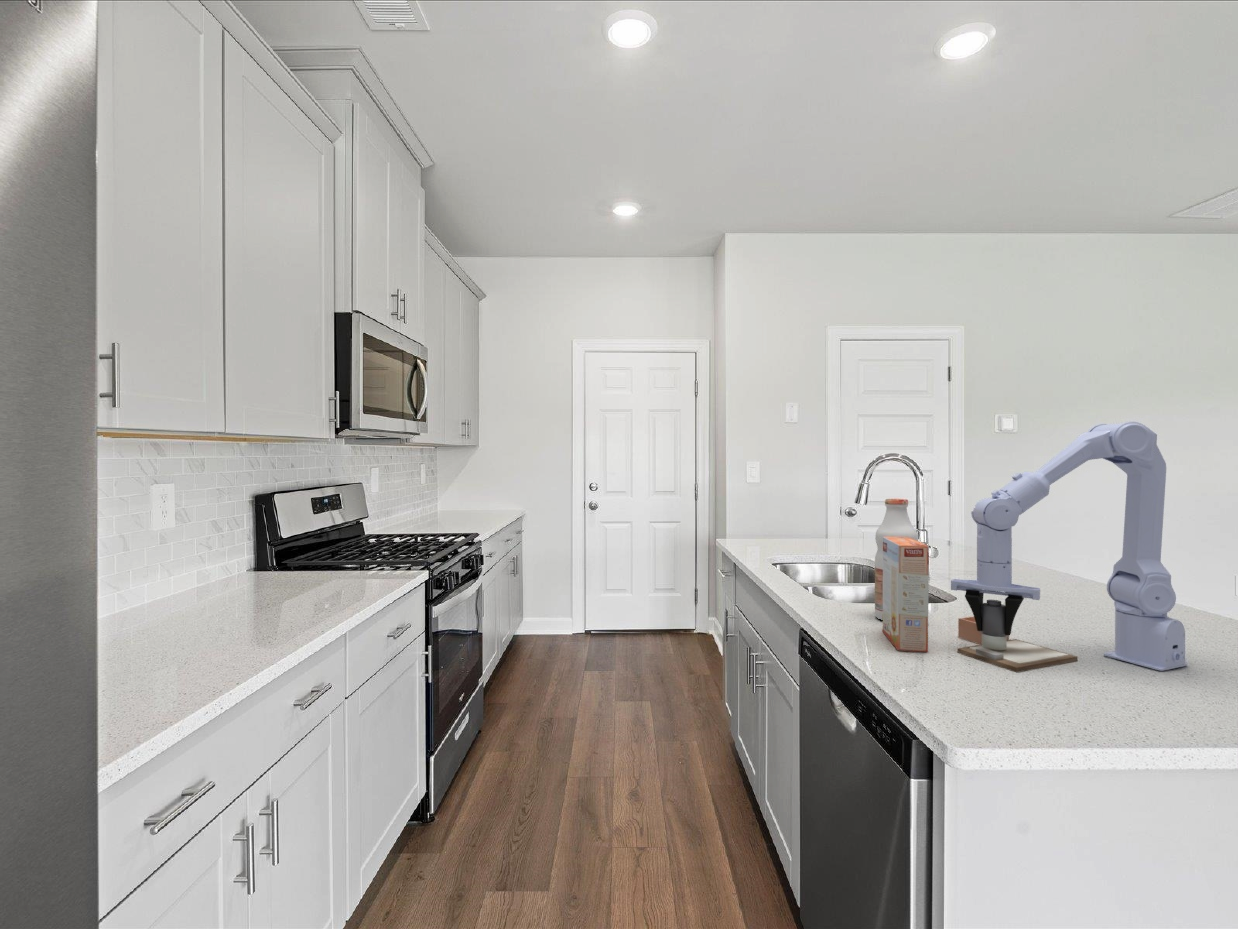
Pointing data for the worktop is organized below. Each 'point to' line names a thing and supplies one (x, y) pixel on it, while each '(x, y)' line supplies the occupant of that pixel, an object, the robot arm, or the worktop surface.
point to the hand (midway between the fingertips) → (994, 632)
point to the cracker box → (905, 593)
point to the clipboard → (1019, 656)
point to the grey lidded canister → (994, 625)
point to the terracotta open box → (970, 630)
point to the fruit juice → (891, 526)
